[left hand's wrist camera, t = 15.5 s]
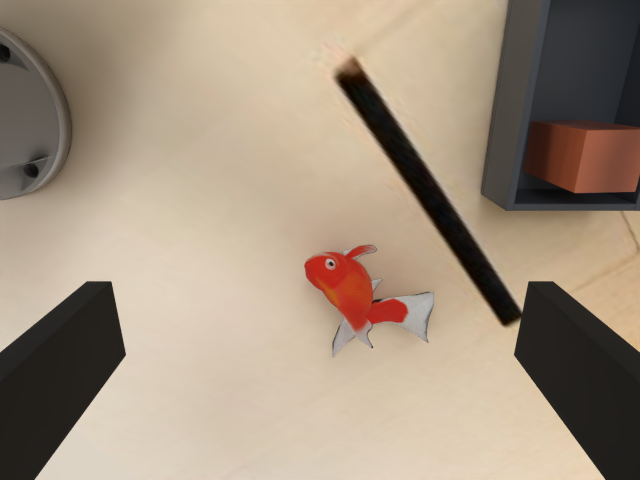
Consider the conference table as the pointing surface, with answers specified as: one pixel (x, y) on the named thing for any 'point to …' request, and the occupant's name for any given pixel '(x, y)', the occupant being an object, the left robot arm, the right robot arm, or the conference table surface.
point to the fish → (364, 297)
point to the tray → (561, 93)
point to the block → (584, 155)
